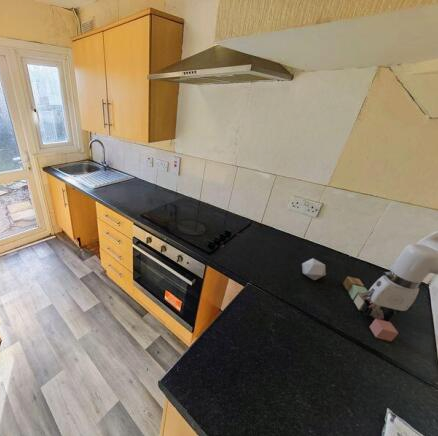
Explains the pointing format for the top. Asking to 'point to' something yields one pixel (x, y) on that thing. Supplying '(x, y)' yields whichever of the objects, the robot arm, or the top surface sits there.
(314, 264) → the die
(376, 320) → the block
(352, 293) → the block
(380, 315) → the figurine
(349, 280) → the block
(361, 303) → the block
